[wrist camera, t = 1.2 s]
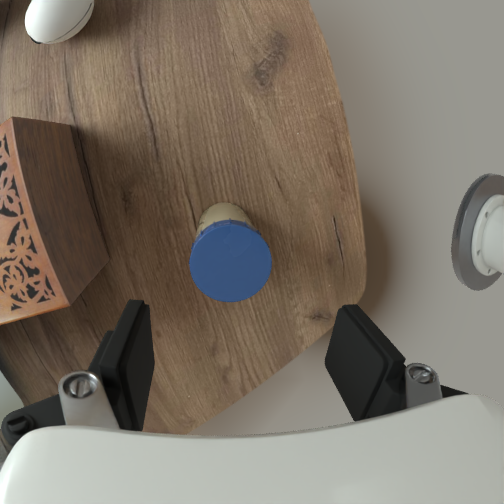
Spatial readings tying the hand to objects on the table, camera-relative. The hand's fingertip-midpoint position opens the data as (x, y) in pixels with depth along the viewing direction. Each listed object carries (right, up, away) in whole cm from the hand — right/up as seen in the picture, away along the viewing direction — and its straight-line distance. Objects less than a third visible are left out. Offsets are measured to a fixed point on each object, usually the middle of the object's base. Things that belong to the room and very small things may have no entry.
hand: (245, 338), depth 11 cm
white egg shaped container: (-18, +26, +8) cm, 33 cm away
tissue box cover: (-28, +6, +13) cm, 32 cm away
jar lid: (-1, +3, +8) cm, 8 cm away
